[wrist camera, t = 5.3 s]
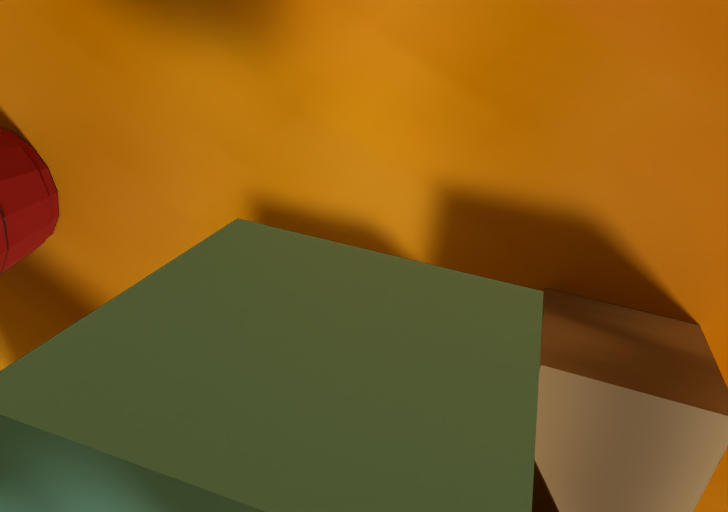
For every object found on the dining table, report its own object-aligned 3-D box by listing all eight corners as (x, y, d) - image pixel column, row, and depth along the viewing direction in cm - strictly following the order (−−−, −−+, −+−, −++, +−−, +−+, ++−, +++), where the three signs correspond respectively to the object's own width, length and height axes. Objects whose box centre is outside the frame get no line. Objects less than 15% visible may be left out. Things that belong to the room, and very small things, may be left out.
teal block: (233, 444, 12) (34, 709, 7) (237, 218, 9) (-44, 398, 5) (475, 527, 10) (415, 902, 6) (543, 291, 8) (526, 606, 4)
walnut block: (512, 398, 22) (500, 494, 18) (545, 286, 20) (541, 364, 15) (648, 438, 21) (671, 551, 16) (699, 323, 19) (741, 419, 14)
